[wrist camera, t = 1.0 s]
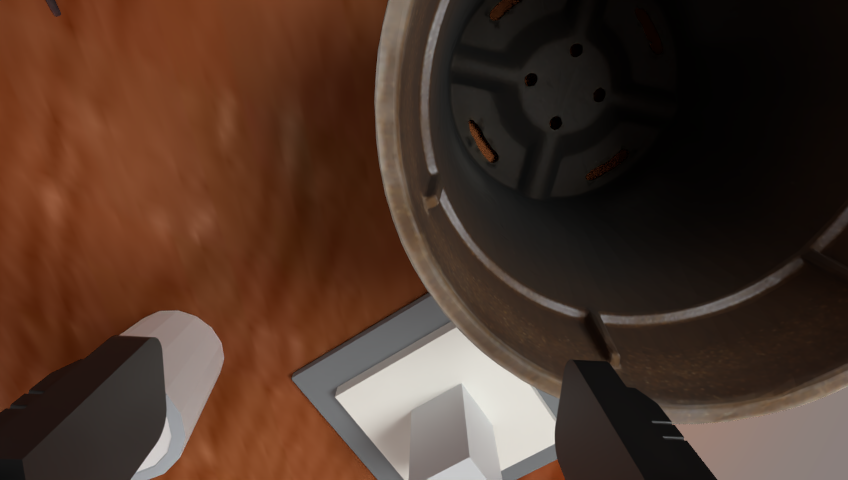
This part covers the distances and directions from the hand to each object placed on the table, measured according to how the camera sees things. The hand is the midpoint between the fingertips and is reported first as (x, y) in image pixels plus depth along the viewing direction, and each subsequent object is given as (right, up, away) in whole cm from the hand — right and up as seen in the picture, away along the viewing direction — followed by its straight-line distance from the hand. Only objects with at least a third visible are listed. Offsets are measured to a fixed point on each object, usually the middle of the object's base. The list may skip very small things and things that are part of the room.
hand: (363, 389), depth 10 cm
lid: (+3, -7, +22) cm, 23 cm away
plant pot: (+8, +11, +16) cm, 21 cm away
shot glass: (-14, -4, +22) cm, 26 cm away
